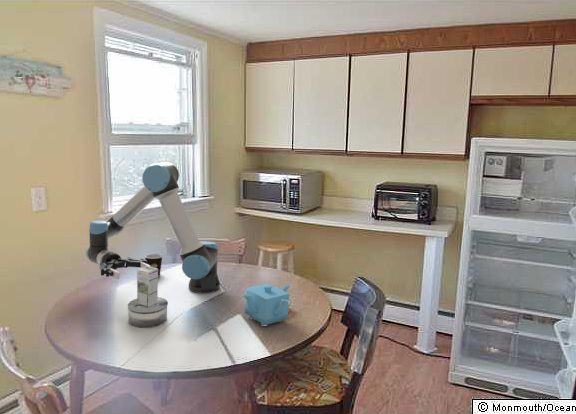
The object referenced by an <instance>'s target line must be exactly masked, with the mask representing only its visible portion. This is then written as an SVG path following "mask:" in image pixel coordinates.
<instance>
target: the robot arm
mask: <svg viewBox="0 0 576 414" xmlns="http://www.w3.org/2000/svg"><path fill="white" fill-rule="evenodd" d="M141 178H142V183H143V187H142V188H141V189H140V190H139V191H137V192H136V194H134V195H133V196H132V197H130V199H129V200H128V201H127V202H126V203H125V204H124V205H122V207H121V208H119V209H118V210H117V211H116V212H115V213H114V214H113V215H112V216H111V217H110V218H109V219H108V220H107V221H106V220H102V219H101V220H99V219H98V220H93V221H91V222H89V230H88V231H89V247H88V248H87V250H86V252H85V253H86V257H87V259H88V260H89V261H90V262H92V263H94V264H97V265H98V266H99V270H100V276H105V277H106V278H108V277H113V278H114V279H117V280H120V272H119V271H118V270H117V269H121V268H122V269H123V268H142V267H145V266H148V267H150V265H148V264H147V260H145V259H144V260H140V259H141V258H140V259H139V258H132V257H127V259H125V258H122V257H121V255H120V254H118V253H116V252H113V251H111V250H109V239H110V238H112V237H114V236H117V235H118V234H120V233H122V232H123V230H124V228H125V227H126V226H127V225H128V224H129V223H130V222H132V220H134V219H135V218H136V217H137V216H138V215H140V213H141V212H142V211H143V210H144V209H145V208H147V207H148V206H149V205H150V204H151V203H152V202H153V201H154V200H158V201H159V204H160V206H161V207H162V210H163V212H164V215H165V217H166V219H167V221H168V223H169V226H170V227H171V230H172V233H173V235H174V236H175V239H176V242H177V243H178V245H179V248H180V251H179V256H180V259H181V261H182V262H181V269H182V273H183V274H184V275H185V276H186V277H187V278H189V279H190V280H189V282H188V289H189V290H190V291H191V292H193V293H199V294H211V293H215V292H217V291H219V290H220V289H221V282H220V278H219V276H218V275H219V274H218V256H219V255H218V254H219V245H218V243H216V242H213V241H202V240H201V241H200V240H199V238H198V235H197V233H196V231H195V229H194V227H193V224H192V223H191V220H190V217H189V215H188V214H187V211H186V209H185V207H184V204H183V202H182V200H181V196H180V195H179V193H178V192H179V189H180V185H179V184H178V181H179V178H180V172H179V169H178V167H177V166H176V165H174V164H173V163H171V162H169V161H168V162H166V161H165V162H159V163H158V162H157V163H152V164H150V165H148V166H147V167H146V168H145V169H144V171H143V172H142V176H141Z"/></svg>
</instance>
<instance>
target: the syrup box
mask: <svg viewBox="0 0 576 414" xmlns="http://www.w3.org/2000/svg"><path fill="white" fill-rule="evenodd" d="M136 271H137V272H136V274H137V276H136V277H137V280H136V281H137V282H136V283H137V291H136V292H137V294H136V297H137V298H136V299H137V304H139V305H143V306H146V307H150V306H152V305H154V304H156V303H158V297H159V296H158V295H159V294H158V289H159V287H158V286H159V285H158V283H159V279H158V278H159V276H158V269H157V268H153V267H148V266H145V267H142V268H141V267H139V268H138V269H137V270H136Z"/></svg>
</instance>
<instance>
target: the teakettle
mask: <svg viewBox="0 0 576 414" xmlns="http://www.w3.org/2000/svg"><path fill="white" fill-rule="evenodd" d="M291 286H292V285H291V284H286V285H285V286H284V287H282V289H280V288H279V287H276V286H274V284H273V285H272V284H271V283H266V284H260V285H252V286H250V287H247V288H245V294H242V296H241V297H242V298H245V300H244V301H245V303H244V313H245V314H246V316H247V315H248V316H249V317H250V318H252V319H255V320H254V321H256V322H259V323H260V325H261V324H262V325H272V324H274V323H277V322H278V321H281V322H282V321H285V320H287V319H289V318H288V317H289V307H290V306H289V305H290V293H288V292H287V291H288V289H289V288H290V287H291Z"/></svg>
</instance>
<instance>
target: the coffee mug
mask: <svg viewBox="0 0 576 414" xmlns="http://www.w3.org/2000/svg"><path fill="white" fill-rule="evenodd" d="M140 260H147V264H148V265H150V267H153V268H157V269H158V277H159V276H160V275H161V270H162V269H161V268H162V261H163V255H162V254H160V253H159V254H158V253H149V254H146V255H145V256H144V258H140Z"/></svg>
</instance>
